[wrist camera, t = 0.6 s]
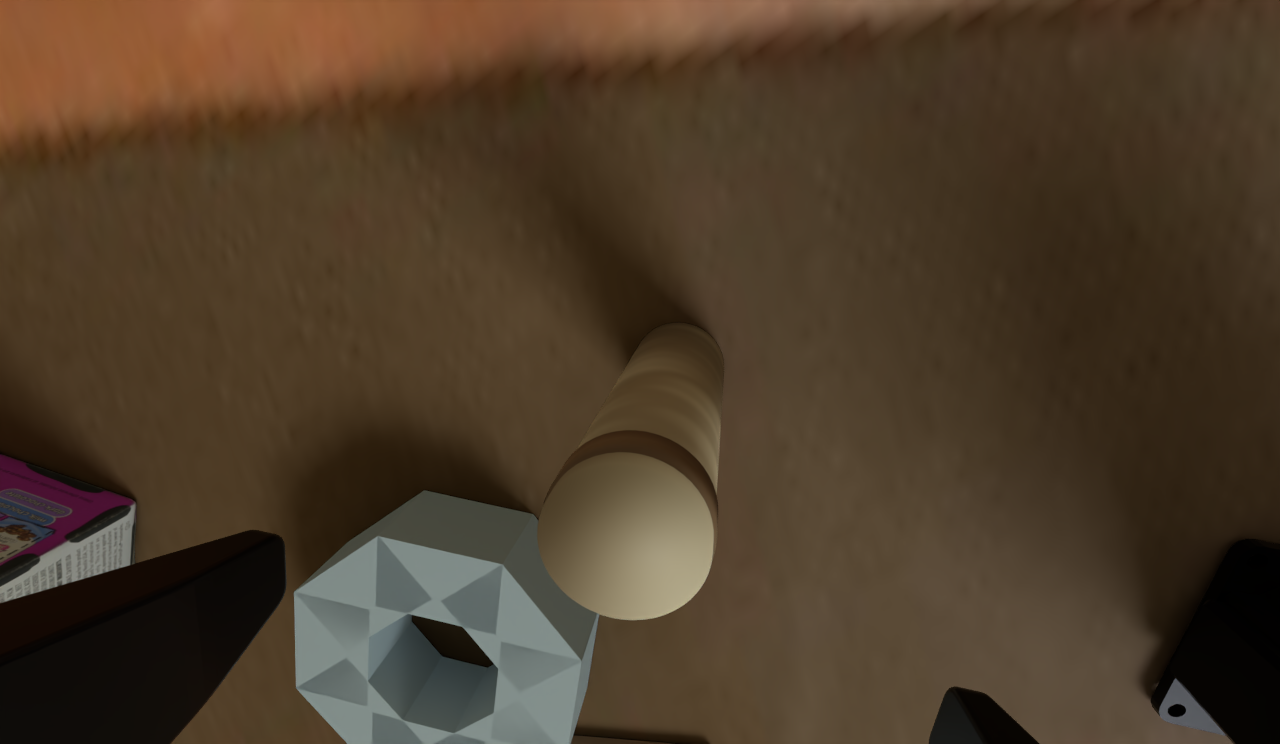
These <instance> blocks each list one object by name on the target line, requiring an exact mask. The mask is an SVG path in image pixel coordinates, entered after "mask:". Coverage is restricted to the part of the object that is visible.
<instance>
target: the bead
mask: <svg viewBox="0 0 1280 744" xmlns="http://www.w3.org/2000/svg"><path fill="white" fill-rule="evenodd" d="M537 528H538V520H537V518H536V517H535V516H534V515H533V514H530V513H526V512H521V511H517V510H512V509H507V508H503V507H498V506H494V505H489V504H485V503H480V502H476V501H471V500H466V499H462V498H457V497H453V496H448V495H444V494H439V493H435V492H430V491H425V490H424V491H422V492H421V493H419V494H418V495H416V496H415V497H414V498H412V499H411V500H409V501H408V502H406V503H405V504H403V505H402V506H400V507H399V508H397V509H396V510H394V511H393V512H391V513H390V514H388V515H387V516H385V517H384V518H383V519H381V520H380V521H378V522H377V523H375V524H374V525H372V526H371V527H369V528H368V529H366V530H365V531H363V532H362V533H360V534H359V535H357V536H356V537H354V538H353V539H352V540H350V541H348V542H347V543H346V544H345V545H344V546H343V547H342V548H341V549H340V550H339V551H338V552H336V553H335V554H334V555H333V556H332V557H331V558H330V559H329V560H328V561H327V562H326V563H325V564H323V565H322V566H321V567H320V568H319V569H318V570H317V571H316V572H315V573H314V574H313V575H312V576H311V577H309V578H308V579H307V580H306V581H305V582H304V583H303V584H302V585H301V586H300V587H299V588H298V589H296V590H295V591H294V608H295V657H296V689H297V690H298V691H299V692H300V693H301V694H302V695H303V696H304V697H305V698H306V699H307V700H308V702H309V703H310V704H311V705H312V706H313V707H314V708H315V709H316V710H317V711H318V712H319V713H320V715H321V716H322V717H323V718H324V719H325V720H326V721H327V722H328V723H329V724H330V725H331V726H332V727H333V729H334V730H335V731H336V732H337V733H338V734H339V735H340V736H341V737H342V738H343V739H344V740H345V742H346V743H347V744H571V741H572V738H573V734H574V731H575V728H576V724H577V721H578V717H579V714H580V711H581V707H582V704H583V700H584V697H585V694H586V690H587V685H588V679H589V673H590V667H591V660H592V654H593V648H594V642H595V636H596V630H597V624H598V617H599V614H598V613H596V612H593V611H591V610H589V609H587V608H585V607H583V606H581V605H580V604H578V603H577V602H575V601H574V600H572V599H571V598H570V597H569V596H568V595H566V594H565V593H564V592H563V591H562V590H561V589H560V588H559V587H558V586H557V584H556V583H555V582H554V580H553V579H552V578H551V576H550V575H549V573H548V571H547V569H546V568H545V566H544V563H543V561H542V558H541V556H540V551H539V547H538V539H537ZM412 615H415V616H419V617H424V618H428V619H432V620H436V621H440V622H444V623H449V624H453V625H457V626H461V627H463V628H464V629H465V630H466V631H467V633H468V634H469V635H470V636H471V637H472V639H473V640H474V641H475V642H476V643H477V644H478V646H479V647H480V648H481V649H482V650H483V651H484V653H485V654H486V655H487V656H488V657H489V659H490V660H491V661H492V662H493V663H494V664H493V665H491V666H490V667H488V668H487V667H483V666H479V665H475V664H471V663H466V662H462V661H458V660H454V659H450V658H446V657H442V656H441V655H440V653H439V652H438V651H437V650H436V649H435V648H434V647H433V645H432V644H431V643H430V642H429V641H428V640H427V638H426V637H425V636H424V635H423V634H422V633H421V632H420V630H419V629H418V628H417V627H416V626H415V625H414V623H413V622H412Z"/></svg>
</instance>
